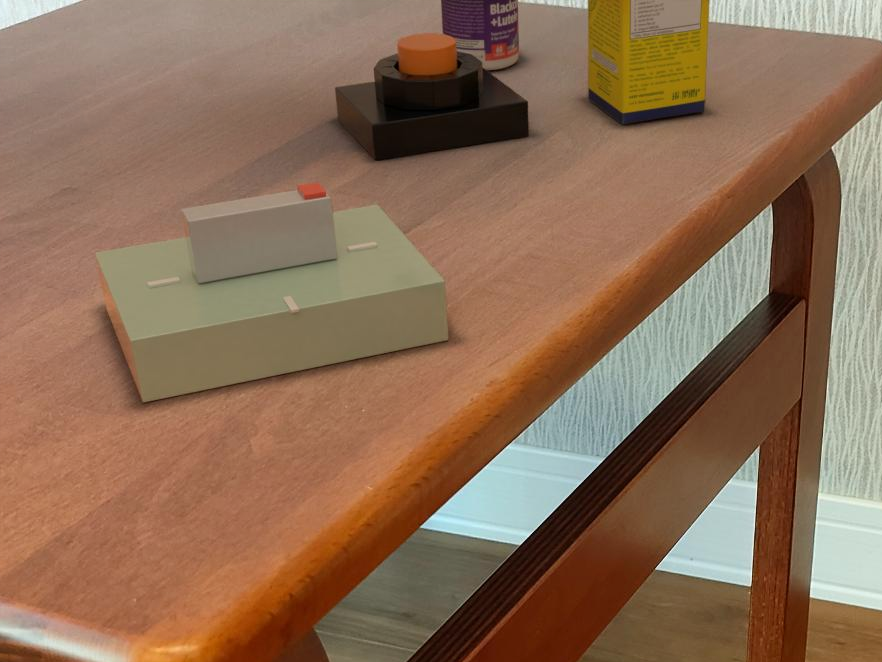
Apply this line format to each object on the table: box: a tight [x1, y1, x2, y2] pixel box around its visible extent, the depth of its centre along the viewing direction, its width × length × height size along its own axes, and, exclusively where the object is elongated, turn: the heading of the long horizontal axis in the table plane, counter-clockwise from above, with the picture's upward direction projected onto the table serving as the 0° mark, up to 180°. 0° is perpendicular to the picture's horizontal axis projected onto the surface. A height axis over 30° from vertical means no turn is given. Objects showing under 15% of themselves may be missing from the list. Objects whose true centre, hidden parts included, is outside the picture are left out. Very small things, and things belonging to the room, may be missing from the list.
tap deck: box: [94, 204, 449, 403], centre depth 65 cm, size 14×11×3 cm
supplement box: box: [587, 0, 710, 125], centre depth 88 cm, size 6×6×11 cm
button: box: [396, 32, 457, 75], centre depth 86 cm, size 4×4×2 cm
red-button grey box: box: [181, 181, 338, 283], centre depth 64 cm, size 6×2×3 cm, turn 113°
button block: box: [334, 51, 530, 161], centre depth 87 cm, size 10×8×4 cm
